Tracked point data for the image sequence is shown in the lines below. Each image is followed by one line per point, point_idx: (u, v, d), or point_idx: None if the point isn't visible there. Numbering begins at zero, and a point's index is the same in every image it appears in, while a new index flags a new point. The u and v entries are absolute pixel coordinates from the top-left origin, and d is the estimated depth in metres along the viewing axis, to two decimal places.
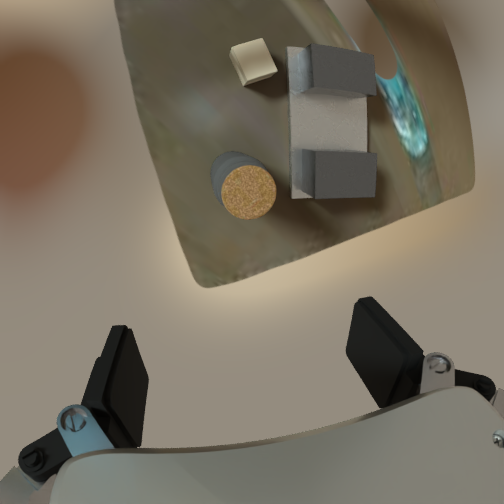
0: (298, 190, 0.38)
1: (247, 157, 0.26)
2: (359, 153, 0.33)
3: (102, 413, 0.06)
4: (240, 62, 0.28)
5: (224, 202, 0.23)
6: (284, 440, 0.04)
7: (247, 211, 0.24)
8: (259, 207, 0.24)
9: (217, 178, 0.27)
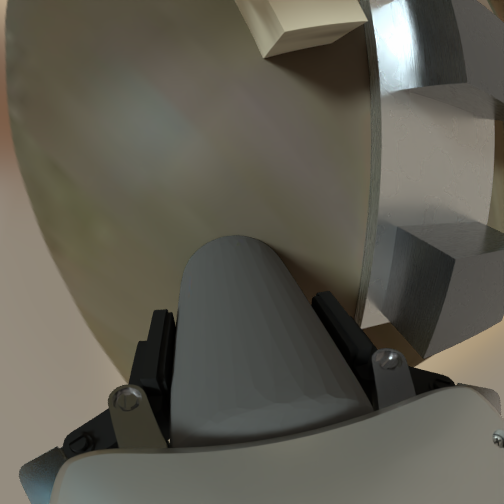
0: (375, 312, 0.17)
1: (313, 405, 0.05)
2: None
3: (154, 391, 0.07)
4: None
5: None
6: (284, 440, 0.04)
7: None
8: None
9: None
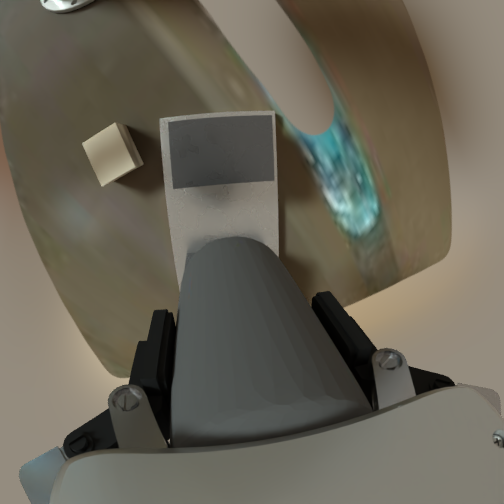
0: None
1: (312, 407, 0.05)
2: None
3: (154, 391, 0.07)
4: (92, 163, 0.23)
5: None
6: (284, 440, 0.04)
7: None
8: None
9: None
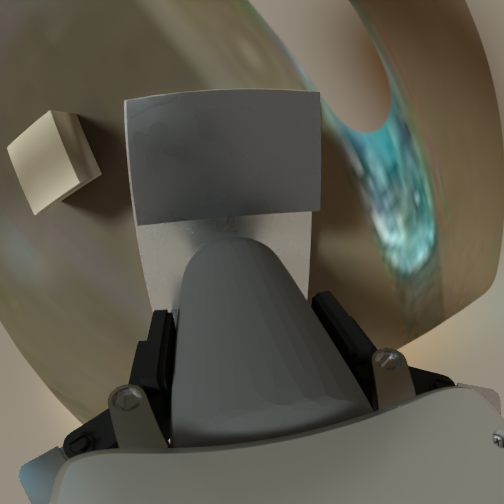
0: None
1: (313, 407, 0.05)
2: None
3: (154, 391, 0.07)
4: (20, 178, 0.12)
5: None
6: (284, 440, 0.04)
7: None
8: None
9: None
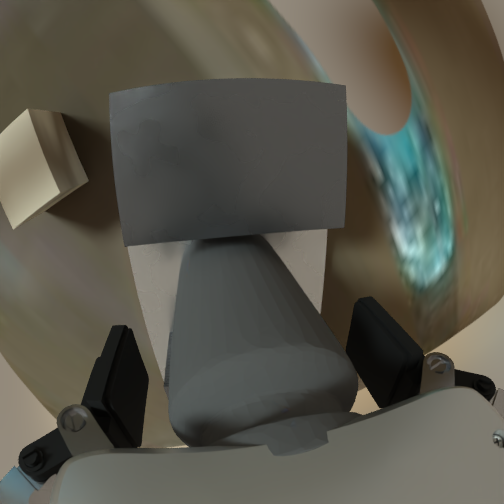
0: None
1: (293, 351, 0.06)
2: None
3: (102, 413, 0.06)
4: None
5: None
6: None
7: None
8: None
9: (180, 421, 0.06)
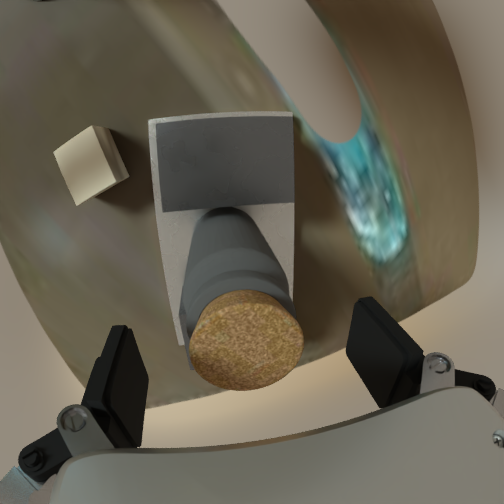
0: None
1: (245, 251, 0.14)
2: None
3: (102, 413, 0.06)
4: (65, 176, 0.18)
5: (197, 370, 0.11)
6: (284, 440, 0.04)
7: (244, 381, 0.11)
8: (268, 373, 0.11)
9: (188, 292, 0.14)
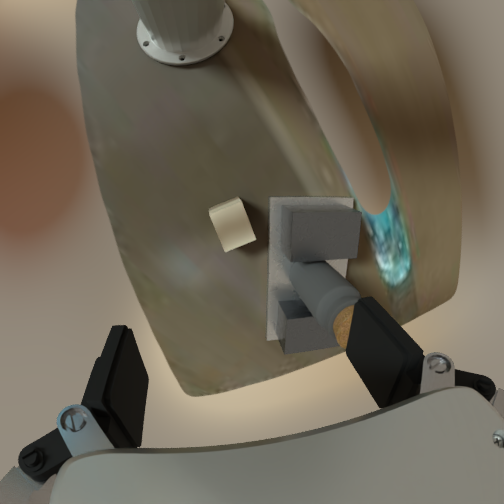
0: (272, 334, 0.43)
1: (347, 287, 0.29)
2: None
3: (102, 413, 0.06)
4: (218, 232, 0.33)
5: (338, 339, 0.26)
6: (284, 440, 0.04)
7: None
8: None
9: (321, 307, 0.29)
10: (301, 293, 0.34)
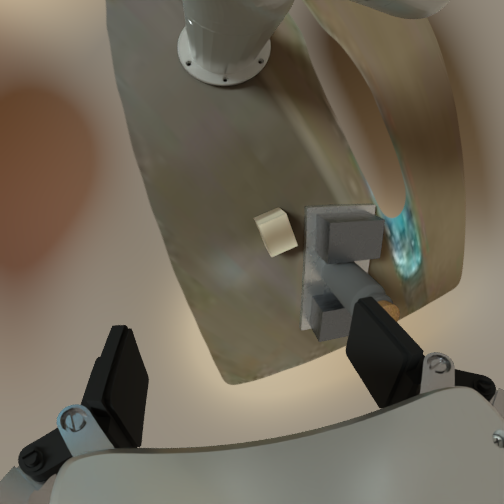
0: (306, 324, 0.48)
1: (375, 285, 0.35)
2: None
3: (102, 413, 0.06)
4: (266, 240, 0.38)
5: None
6: (284, 440, 0.04)
7: None
8: None
9: (354, 302, 0.35)
10: (335, 290, 0.40)
